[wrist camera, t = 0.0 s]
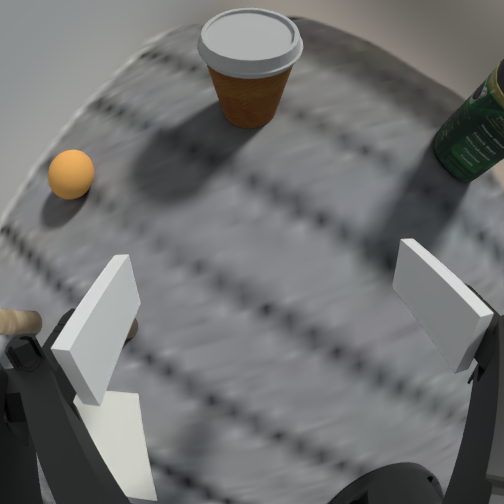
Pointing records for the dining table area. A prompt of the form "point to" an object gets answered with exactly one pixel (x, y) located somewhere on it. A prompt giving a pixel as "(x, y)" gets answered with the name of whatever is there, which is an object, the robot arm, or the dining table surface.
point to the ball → (71, 174)
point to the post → (19, 322)
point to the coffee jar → (475, 131)
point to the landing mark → (121, 441)
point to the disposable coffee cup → (249, 62)
